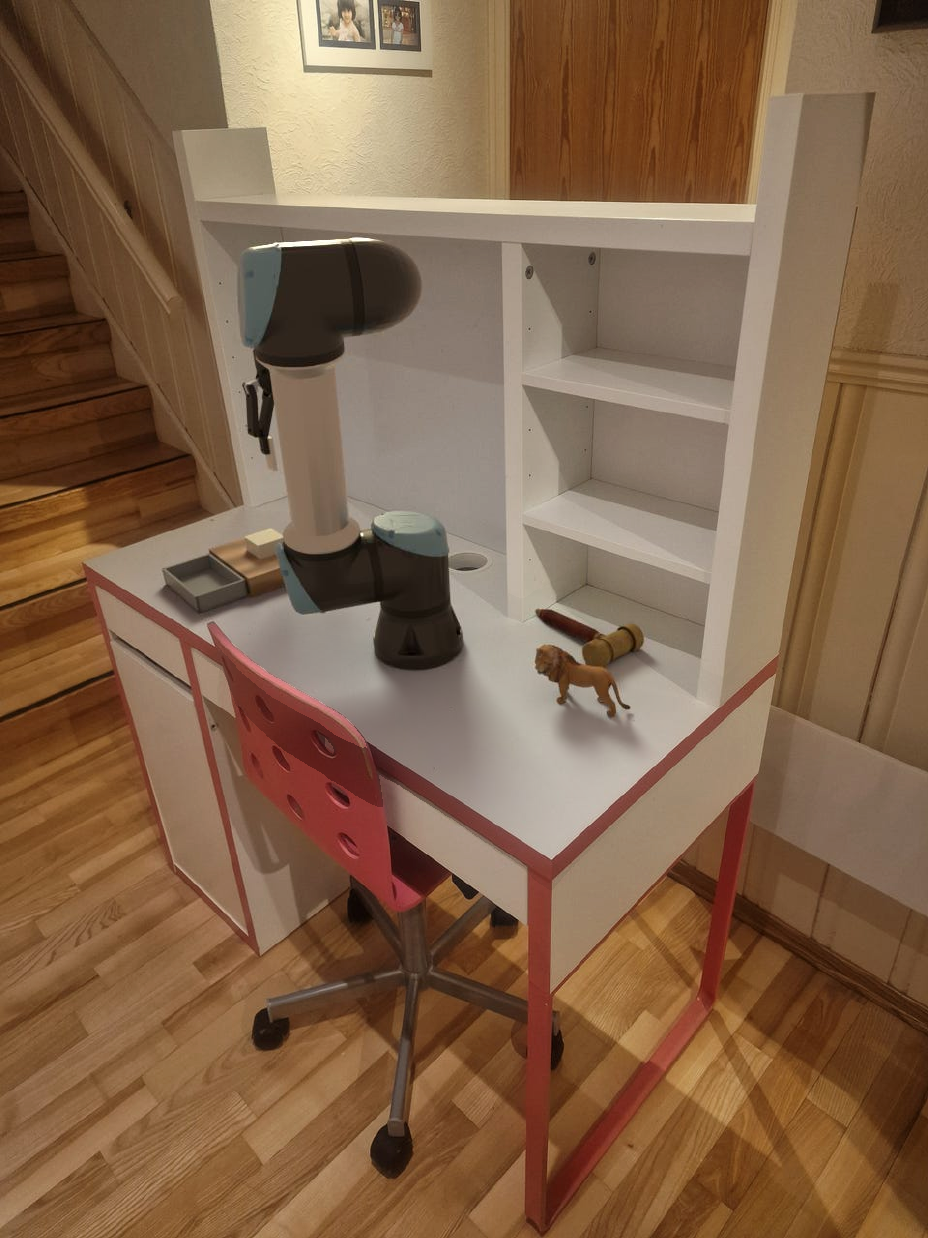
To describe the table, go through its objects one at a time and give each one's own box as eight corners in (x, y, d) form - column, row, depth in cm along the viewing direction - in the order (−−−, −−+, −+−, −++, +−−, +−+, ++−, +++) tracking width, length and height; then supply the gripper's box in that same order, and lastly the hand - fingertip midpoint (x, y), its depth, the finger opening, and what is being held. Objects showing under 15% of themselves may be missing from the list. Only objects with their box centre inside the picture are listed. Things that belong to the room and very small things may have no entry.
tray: (248, 595, 162) (245, 579, 160) (199, 613, 157) (195, 596, 155) (212, 568, 173) (209, 553, 171) (165, 584, 168) (162, 568, 166)
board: (311, 575, 168) (309, 557, 166) (252, 597, 161) (248, 578, 159) (269, 547, 181) (266, 530, 179) (212, 566, 174) (208, 549, 172)
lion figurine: (530, 703, 128) (529, 653, 124) (539, 684, 132) (540, 635, 128) (626, 721, 123) (630, 669, 119) (633, 700, 128) (637, 650, 123)
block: (287, 550, 170) (285, 536, 168) (260, 559, 166) (257, 545, 165) (273, 541, 174) (271, 528, 172) (246, 550, 171) (244, 536, 169)
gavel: (514, 608, 148) (556, 590, 153) (515, 631, 150) (557, 612, 155) (601, 649, 133) (644, 627, 138) (601, 674, 135) (644, 652, 140)
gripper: (310, 332, 163) (325, 447, 174) (212, 350, 152) (235, 472, 164) (330, 338, 158) (344, 456, 169) (231, 357, 147) (253, 482, 158)
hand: (290, 464), depth 166 cm, fingers open, 7 cm apart
